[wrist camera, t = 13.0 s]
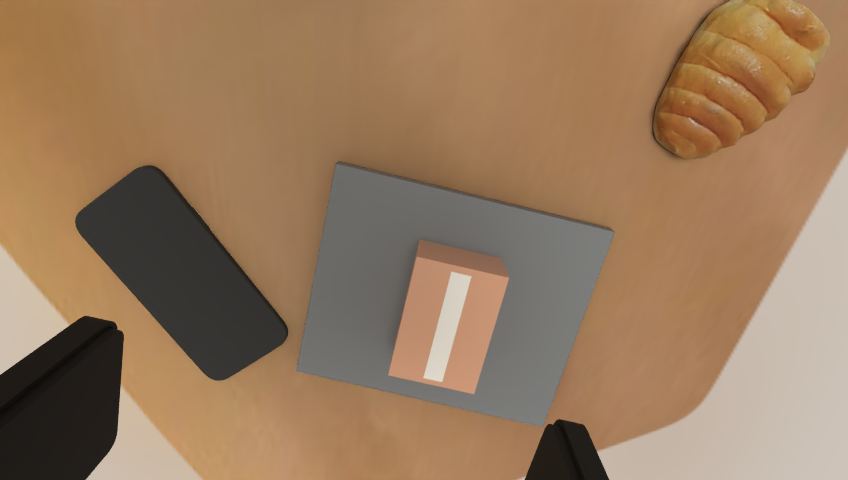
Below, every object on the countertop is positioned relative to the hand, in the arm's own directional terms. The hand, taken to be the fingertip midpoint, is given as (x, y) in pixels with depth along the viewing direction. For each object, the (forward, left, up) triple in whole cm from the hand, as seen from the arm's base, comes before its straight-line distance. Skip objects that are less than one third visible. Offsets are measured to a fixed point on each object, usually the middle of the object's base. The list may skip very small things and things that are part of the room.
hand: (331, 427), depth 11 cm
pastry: (+17, +12, -23) cm, 31 cm away
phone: (-13, -9, -23) cm, 28 cm away
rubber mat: (+4, -6, -23) cm, 24 cm away
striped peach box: (+4, -6, -22) cm, 23 cm away
